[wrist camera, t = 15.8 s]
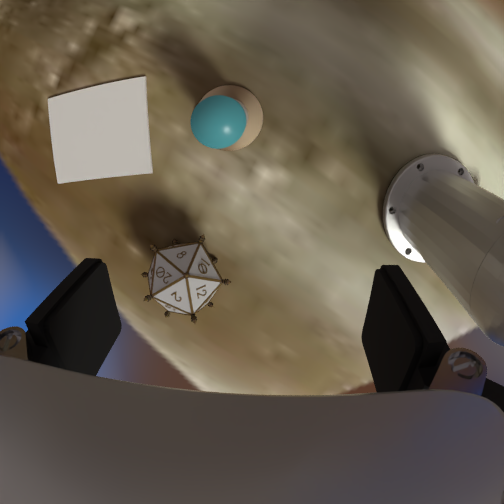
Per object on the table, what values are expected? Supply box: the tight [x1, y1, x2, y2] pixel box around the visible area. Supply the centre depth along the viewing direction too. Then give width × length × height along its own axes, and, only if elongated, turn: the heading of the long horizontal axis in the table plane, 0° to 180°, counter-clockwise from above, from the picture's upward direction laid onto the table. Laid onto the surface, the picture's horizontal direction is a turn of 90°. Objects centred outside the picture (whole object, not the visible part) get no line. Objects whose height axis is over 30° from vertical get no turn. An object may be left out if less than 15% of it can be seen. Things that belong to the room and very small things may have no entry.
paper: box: [48, 76, 153, 184], centre depth 29 cm, size 12×10×1 cm
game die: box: [141, 235, 231, 323], centre depth 32 cm, size 9×8×10 cm
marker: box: [191, 95, 249, 149], centre depth 24 cm, size 4×4×9 cm
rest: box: [199, 85, 263, 151], centre depth 28 cm, size 6×6×1 cm
